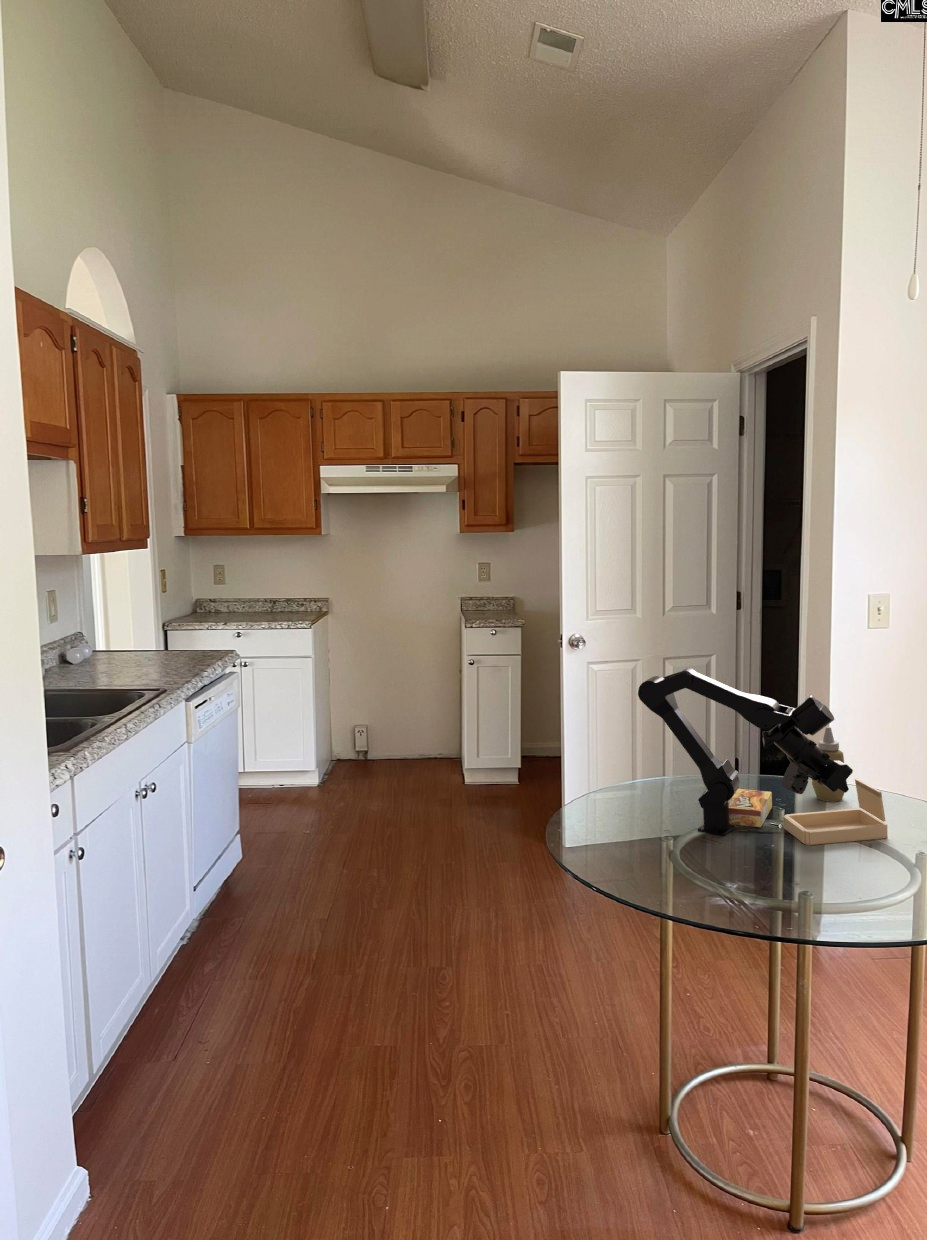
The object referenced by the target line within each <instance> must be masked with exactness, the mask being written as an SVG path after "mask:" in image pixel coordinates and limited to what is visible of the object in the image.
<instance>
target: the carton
mask: <svg viewBox="0 0 927 1240" xmlns="http://www.w3.org/2000/svg"><path fill="white" fill-rule="evenodd" d="M782 817H783V818H782V819H783V820H782V821H783V826H782V827H783V829H784V830H786V831H787V832H788V833H789V834H791V835H792V836H793V837H795V838H796V839H797V840H798V841H800V842H801V843H803V844H805V845H806V846H814V845H825V844H826V845H827V844H835V843H837V844H838V843H845V842H846V843H848V842H859V841H869V840H871V841H872V840H879V839H880V840H881V839H888V824H887V823H885V821H884V822H883V821H882V820H880V819H878V818H877V817H875V816H873V815H872V814H870V813H868V812H867V811H865V810H863V809H862V808H845V809H834V810H833V809H832V810H822V811H814V812H813V811H812V812H801V813H799V812H797V813H790V814H788V813H787V814H785V815H783V816H782Z"/></svg>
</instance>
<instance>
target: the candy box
mask: <svg viewBox="0 0 927 1240" xmlns="http://www.w3.org/2000/svg"><path fill="white" fill-rule="evenodd" d="M772 794H773V793H772V791H766V790H754V789H742V788H738V790H737V791H736V793H735V794H734V796H733V797H732V798H731V799H730V800H728V803H729V824H731V825H735V826H736V825H737V826H745V827H746V826H747V827H756V828H762V826H763V824H764V822H765V821H766V819H767V817H768V815H769V814H770V812H771V809H772V808H773V800H772V798H773V797H772V796H773V795H772Z"/></svg>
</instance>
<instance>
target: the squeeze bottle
mask: <svg viewBox="0 0 927 1240" xmlns="http://www.w3.org/2000/svg"><path fill="white" fill-rule="evenodd" d="M817 743H818V748H819V749H820V750H822V751H823V752H825V753H827V754H828V755H829V756H830V757H829V758H830V759H831V760H833V761H838V760H839V761H841V762H843V763H845V759H844V752H843V751H842V750H840V742H839V741H837V740H835V739H834V734H833V731H832V727H831V726H825V729H824V735H823V739H822V740H819V741H818V742H817ZM817 781H818V780H813V779H812V780H811V785H812V789H813V790H814V793H815V796H816V798H817V799H818V800H819V801H820V800H821V801H825V802H839V801H842V800H843V798H844V795H845V792H843V791H842V790H840V789H837V790H836V791H834V792H832V791H831V790H829V789H827V788H826V787H825V786H824V785H821V784H819V783H818V782H817ZM846 783H847V784H848V781H847V779H846Z"/></svg>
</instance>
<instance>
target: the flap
mask: <svg viewBox="0 0 927 1240" xmlns="http://www.w3.org/2000/svg"><path fill="white" fill-rule="evenodd" d="M854 781H855V789H856V793H857V794H856V796H857V801H858V806H859V809H862V810H864V811H866V812H867V813H869V814H871V815H872V816H874V817H876V818H877V819H879V820H880V821H882V822H884V823H885V822H886V816H885V809H884V803H883V796H882V794H883V793H882V791H881V790H878V789H877V788H875V787H873V786H871V785H869V784H868V783H866V782H865V781H863V780H860V779H858V778H854Z"/></svg>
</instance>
